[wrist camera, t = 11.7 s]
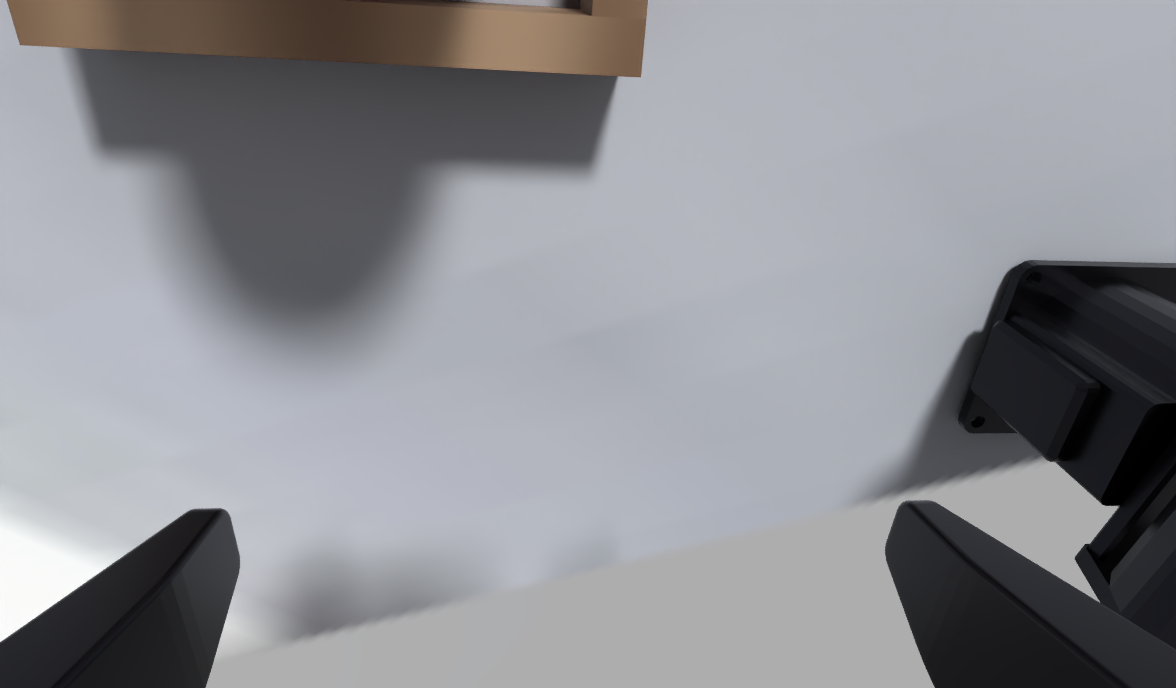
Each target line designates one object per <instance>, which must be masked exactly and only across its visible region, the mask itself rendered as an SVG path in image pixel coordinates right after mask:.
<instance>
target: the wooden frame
mask: <svg viewBox="0 0 1176 688" xmlns="http://www.w3.org/2000/svg"><path fill="white" fill-rule="evenodd" d="M7 3H8V6H9V10H10V13H11V16H12V20H13V23H14V26H15V30H16V33H17V37H18V40H19V43H20V45H29V46H48V47H67V48H86V49H105V50H125V51H144V52H163V53H182V54H202V55H221V56H240V57H259V58H278V59H298V60H317V61H336V62H355V63H375V64H394V65H413V66H432V67H451V68H471V69H490V70H509V71H528V72H548V73H567V74H586V75H605V76H624V77H641V70H642V59H643V48H644V37H645V26H646V15H647V4H648V0H580V9H573V8H557V7H541V6H526V5H510V4H494V3H478V2H462V1H446V0H7Z"/></svg>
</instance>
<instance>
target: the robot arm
mask: <svg viewBox="0 0 1176 688" xmlns="http://www.w3.org/2000/svg"><path fill="white" fill-rule="evenodd" d="M1032 273H1033V276H1032V277H1031V279H1029V280H1028V281H1026V279H1027V278H1028V276H1029V275H1030V274H1032ZM977 416H978V417H977ZM976 417H977V418H976ZM974 418H976V419H975V420H973V419H974ZM972 420H973V421H972ZM958 421H959V424H960V425H961V426H962V427H963V428H964V429H965V430H966V431H968V432H969V433H1018V434H1019V435H1020V436H1021V437H1022V438H1023V439H1024V440H1026V441H1027V442H1028V443H1029V444H1030V445H1031V446H1032V447H1033V448H1034V449H1035V450H1036V451H1038V452H1039V453H1040V454H1041V455H1042V456H1043V457H1044V458H1045V459H1046V460H1048V461H1050V462H1056V463H1057V464H1058V465H1059V466H1060V467H1061V468H1062V469H1064V470H1065V471H1066V472H1067V473H1068V474H1069V475H1070V476H1071V477H1072V478H1074V479H1075V480H1076V481H1077V482H1078V483H1079V484H1080V485H1081V486H1082V487H1084V488H1085V489H1086V490H1087V491H1088V492H1089V493H1090V494H1091V495H1092V496H1093V497H1094V498H1096V499H1097V500H1098V501H1099V502H1100V503H1101V504H1102V505H1105V506H1118V507H1119V508H1118V509H1117V510H1116V511H1115V513H1114V514H1113V515H1112V517H1111V518H1110V519H1109V520H1108V522H1107V523H1106V524H1105V525H1104V527H1103V528H1102V529H1101V530H1100V532H1099V533H1098V534H1097V536H1096V537H1095V538H1094V539H1093V541H1092V542H1091V543H1090V544H1085V545H1084V546H1083V548H1082V549H1081V550H1080V551H1079V553H1078V554H1077V555H1076V557H1075V560H1076V562H1077V564H1078V566H1079V567H1080V569H1081V571H1082V572H1083V574H1084V576H1085V577H1086V579H1087V581H1088V582H1089V584H1090V586H1091V588H1092V589H1093V591H1094V593H1095V594H1096V596H1097V598H1098V599H1099V601H1100V603H1099V602H1098V601H1096V600H1094V599H1093V598H1091V597H1089V596H1088V595H1086V594H1085V593H1083V592H1081V591H1080V590H1078V589H1076V588H1075V587H1073V586H1071V585H1070V584H1068V583H1067V582H1065V581H1063V580H1062V579H1060V578H1058V577H1057V576H1055V575H1053V574H1052V573H1050V572H1049V571H1047V570H1045V569H1043V568H1042V567H1040V566H1039V565H1037V564H1035V563H1034V562H1032V561H1031V560H1029V559H1027V558H1026V557H1024V556H1022V555H1021V554H1019V553H1017V552H1016V551H1014V550H1013V549H1011V548H1009V547H1008V546H1006V545H1004V544H1003V543H1001V542H1000V541H998V540H996V539H995V538H993V537H991V536H990V535H988V534H986V533H985V532H983V531H981V530H980V529H978V528H977V527H975V526H973V525H972V524H970V523H968V522H967V521H965V520H964V519H962V518H960V517H958V516H957V515H955V514H953V513H952V512H950V511H949V510H947V509H946V508H944V507H942V506H941V505H939V504H937V503H935V502H933V501H927V500H924V501H905V502H903V503H902V504H901V505H900V506H899V508H898V510H897V512H896V516H895V518H894V521H893V524H892V527H891V530H890V533H889V536H888V539H887V542H886V547H885V555H886V561H887V564H888V567H889V570H890V572H891V575H892V578H893V581H894V584H895V586H896V589H897V592H898V595H899V597H900V600H901V603H902V606H903V608H904V611H905V614H906V617H907V620H908V622H909V625H910V628H911V631H912V633H913V636H914V639H915V642H916V644H917V647H918V650H919V652H920V655H921V657H922V660H923V662H924V665H925V667H926V669H927V672H928V674H929V676H930V678H931V680H932V683H933V685H934V687H935V688H1176V263H1131V262H1086V261H1041V260H1030V261H1025V262H1023V263H1021V264H1019V265H1018V266H1017V267H1016V268H1015V269H1014V271H1013V273H1012V274H1011V277H1010V280H1009V282H1008V285H1007V288H1006V291H1005V293H1004V296H1003V299H1002V301H1001V304H1000V307H999V309H998V312H997V315H996V317H995V320H994V323H993V325H992V328H991V331H990V333H989V336H988V339H987V341H986V344H985V347H984V349H983V352H982V355H981V357H980V360H979V363H978V365H977V368H976V371H975V374H974V376H973V379H972V382H971V384H970V387H969V390H968V392H967V395H966V398H965V400H964V403H963V406H962V408H961V411H960V414H959V417H958ZM239 569H240V555H239V551H238V547H237V542H236V538H235V534H234V530H233V526H232V522H231V518H230V515H229V513H228V512H227V511H226V510H224V509H221V508H211V509H192V510H190V511H188V512H186V513H185V514H183V515H182V516H180V517H179V518H177V519H176V520H175V521H173V522H172V523H170V524H169V525H167V526H166V527H165V528H163V529H162V530H160V531H159V532H157V533H156V534H155V535H153V536H152V537H150V538H149V539H147V540H146V541H145V542H143V543H142V544H140V545H139V546H137V547H136V548H134V549H133V550H132V551H130V552H129V553H127V554H126V555H124V556H123V557H122V558H120V559H119V560H117V561H116V562H114V563H113V564H112V565H110V566H109V567H107V568H106V569H104V570H103V571H102V572H100V573H99V574H97V575H96V576H94V577H93V578H92V579H90V580H89V581H87V582H86V583H84V584H83V585H82V586H80V587H79V588H77V589H76V590H74V591H73V592H72V593H70V594H69V595H67V596H66V597H64V598H63V599H61V600H60V601H59V602H57V603H56V604H54V605H53V606H51V607H50V608H49V609H47V610H46V611H44V612H43V613H41V614H40V615H39V616H37V617H36V618H34V619H33V620H31V621H30V622H29V623H27V624H26V625H24V626H23V627H21V628H20V629H19V630H17V631H16V632H14V633H13V634H11V635H10V636H9V637H7V638H6V639H4V640H3V641H1V642H0V688H205V687H206V684H207V681H208V678H209V675H210V672H211V668H212V665H213V661H214V658H215V655H216V651H217V648H218V644H219V641H220V637H221V634H222V630H223V627H224V623H225V620H226V616H227V613H228V610H229V606H230V603H231V599H232V596H233V592H234V589H235V585H236V582H237V578H238V575H239Z"/></svg>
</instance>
